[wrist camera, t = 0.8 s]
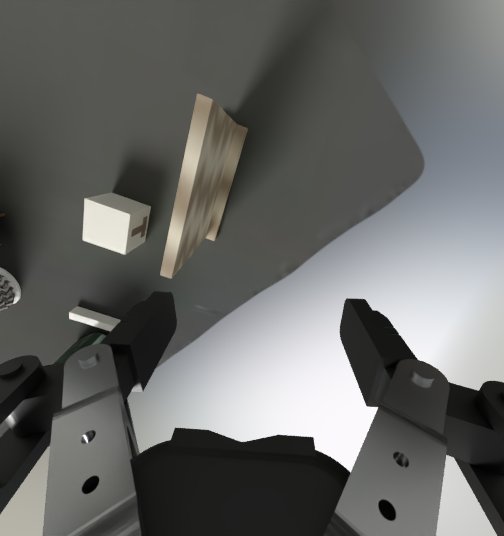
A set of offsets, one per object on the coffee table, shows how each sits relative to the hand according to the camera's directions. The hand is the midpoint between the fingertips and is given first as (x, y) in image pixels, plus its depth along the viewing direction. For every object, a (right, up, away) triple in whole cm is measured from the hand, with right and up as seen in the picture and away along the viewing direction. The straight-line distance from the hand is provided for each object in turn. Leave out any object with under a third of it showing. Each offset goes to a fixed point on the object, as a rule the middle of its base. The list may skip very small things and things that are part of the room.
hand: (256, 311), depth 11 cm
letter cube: (-19, +10, +27) cm, 35 cm away
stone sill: (-26, -8, +35) cm, 45 cm away
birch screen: (-5, +14, +24) cm, 28 cm away
